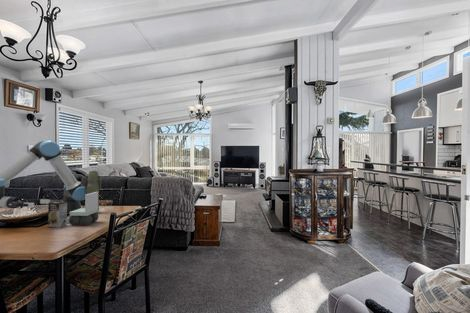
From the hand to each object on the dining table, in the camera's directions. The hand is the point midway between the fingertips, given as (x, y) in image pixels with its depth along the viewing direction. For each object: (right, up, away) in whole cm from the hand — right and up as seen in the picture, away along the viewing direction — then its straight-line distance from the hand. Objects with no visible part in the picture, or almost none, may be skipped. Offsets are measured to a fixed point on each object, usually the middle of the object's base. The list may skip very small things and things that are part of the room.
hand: (42, 203), depth 164 cm
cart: (+24, -16, +7) cm, 29 cm away
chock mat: (+10, -16, +11) cm, 22 cm away
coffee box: (+10, -16, 0) cm, 19 cm away
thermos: (+12, -16, +38) cm, 43 cm away
